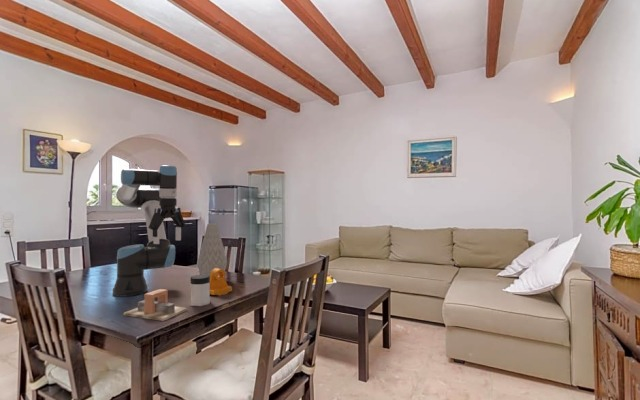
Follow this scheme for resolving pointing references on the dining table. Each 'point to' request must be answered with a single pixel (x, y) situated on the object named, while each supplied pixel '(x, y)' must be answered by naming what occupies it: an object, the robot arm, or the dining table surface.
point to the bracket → (218, 282)
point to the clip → (150, 299)
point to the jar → (200, 290)
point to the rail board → (156, 311)
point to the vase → (211, 251)
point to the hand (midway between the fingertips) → (167, 242)
